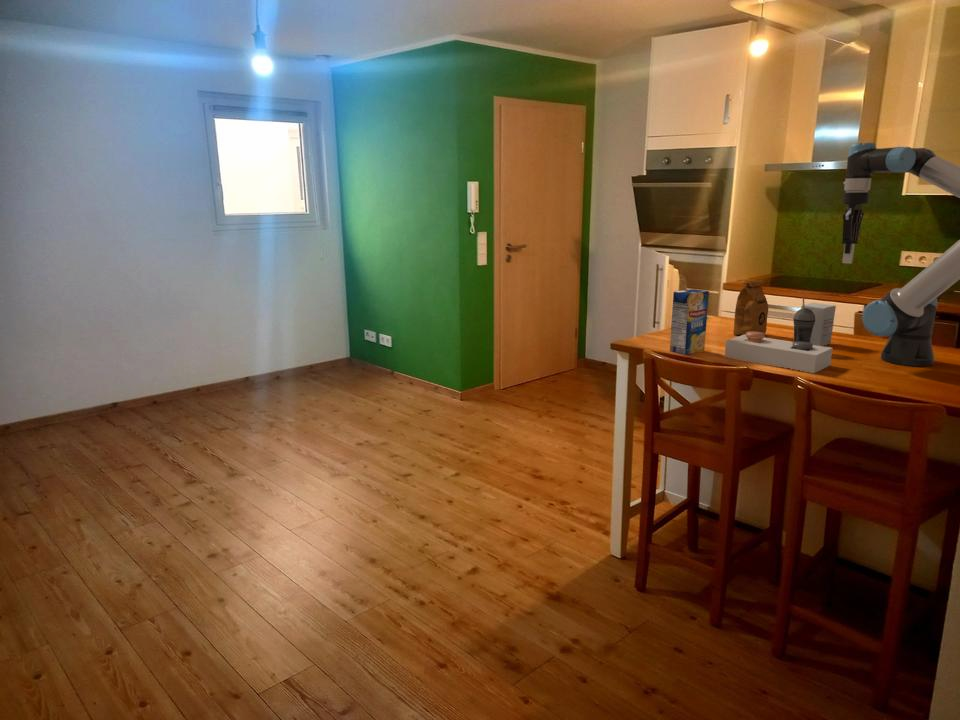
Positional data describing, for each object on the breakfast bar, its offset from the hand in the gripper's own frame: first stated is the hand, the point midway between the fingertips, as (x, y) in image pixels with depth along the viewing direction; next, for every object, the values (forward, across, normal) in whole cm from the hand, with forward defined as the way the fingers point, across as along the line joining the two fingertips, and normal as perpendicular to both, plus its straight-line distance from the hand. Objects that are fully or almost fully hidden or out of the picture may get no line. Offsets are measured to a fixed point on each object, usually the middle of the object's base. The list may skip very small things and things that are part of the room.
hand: (847, 263), depth 221 cm
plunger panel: (+32, +23, -11) cm, 41 cm away
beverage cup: (+33, +2, -11) cm, 34 cm away
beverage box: (+33, +31, -40) cm, 60 cm away
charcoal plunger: (+31, +23, -3) cm, 38 cm away
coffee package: (+33, -11, -36) cm, 50 cm away
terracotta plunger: (+29, +23, -19) cm, 42 cm away
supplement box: (+33, -13, -12) cm, 37 cm away
